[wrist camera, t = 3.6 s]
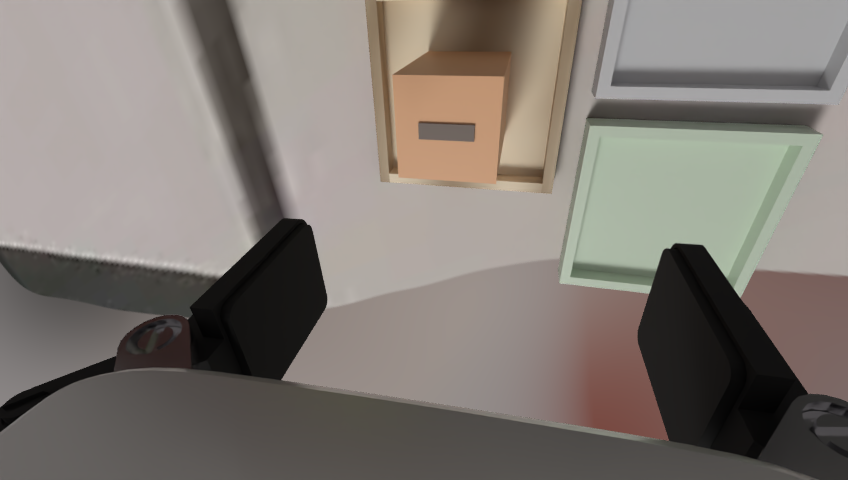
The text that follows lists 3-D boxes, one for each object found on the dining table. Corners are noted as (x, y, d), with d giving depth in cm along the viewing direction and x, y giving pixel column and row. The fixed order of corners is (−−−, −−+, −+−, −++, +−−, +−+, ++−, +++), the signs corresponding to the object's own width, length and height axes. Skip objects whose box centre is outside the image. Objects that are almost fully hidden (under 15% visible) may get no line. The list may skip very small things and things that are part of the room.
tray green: (805, 125, 21) (823, 134, 19) (727, 288, 26) (737, 303, 25) (586, 117, 23) (590, 125, 21) (558, 270, 28) (559, 283, 27)
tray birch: (581, -19, 20) (585, -19, 18) (550, 183, 25) (551, 193, 24) (373, -13, 22) (363, -13, 20) (387, 172, 27) (380, 181, 26)
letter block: (511, 51, 21) (504, 77, 15) (504, 137, 24) (495, 187, 18) (428, 51, 22) (391, 75, 16) (429, 133, 25) (398, 180, 19)
